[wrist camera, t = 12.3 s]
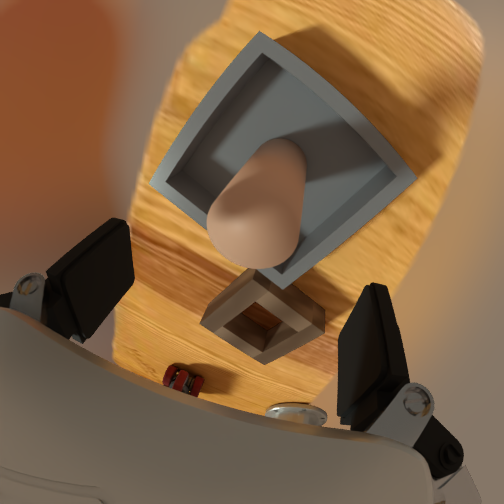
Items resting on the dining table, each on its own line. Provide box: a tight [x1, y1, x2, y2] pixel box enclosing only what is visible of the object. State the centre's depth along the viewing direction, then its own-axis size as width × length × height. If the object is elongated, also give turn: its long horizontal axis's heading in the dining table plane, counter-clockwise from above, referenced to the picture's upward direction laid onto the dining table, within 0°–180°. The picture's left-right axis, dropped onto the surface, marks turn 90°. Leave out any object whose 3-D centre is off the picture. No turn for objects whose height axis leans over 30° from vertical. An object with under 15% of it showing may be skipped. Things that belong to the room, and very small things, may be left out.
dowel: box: [207, 138, 307, 269], centre depth 17 cm, size 4×4×11 cm
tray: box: [149, 31, 417, 290], centre depth 20 cm, size 15×15×4 cm
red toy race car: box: [162, 365, 204, 397], centre depth 43 cm, size 7×12×10 cm, turn 163°
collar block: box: [200, 268, 325, 365], centre depth 30 cm, size 10×10×4 cm
